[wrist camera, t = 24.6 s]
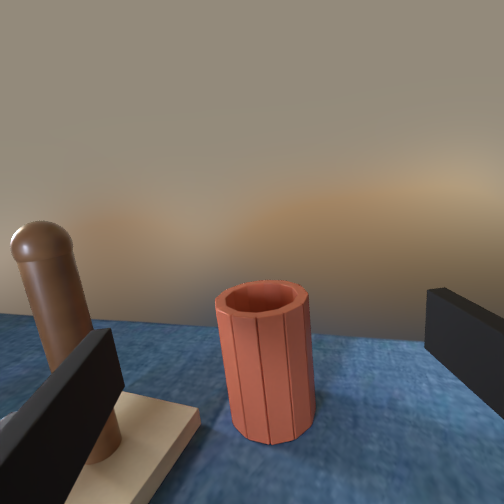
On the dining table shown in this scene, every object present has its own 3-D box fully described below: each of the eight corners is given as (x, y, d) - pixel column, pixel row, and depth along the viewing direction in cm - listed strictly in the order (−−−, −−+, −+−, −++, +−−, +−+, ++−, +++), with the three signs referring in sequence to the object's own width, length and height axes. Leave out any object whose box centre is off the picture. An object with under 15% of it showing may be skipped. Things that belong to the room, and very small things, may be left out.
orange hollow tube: (217, 432, 23) (197, 313, 21) (250, 375, 29) (237, 278, 27) (305, 454, 21) (294, 321, 18) (321, 387, 27) (314, 281, 24)
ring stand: (-17, 513, 19) (-135, 244, 15) (108, 400, 28) (58, 212, 24) (99, 577, 15) (-13, 240, 11) (201, 423, 24) (161, 204, 20)
